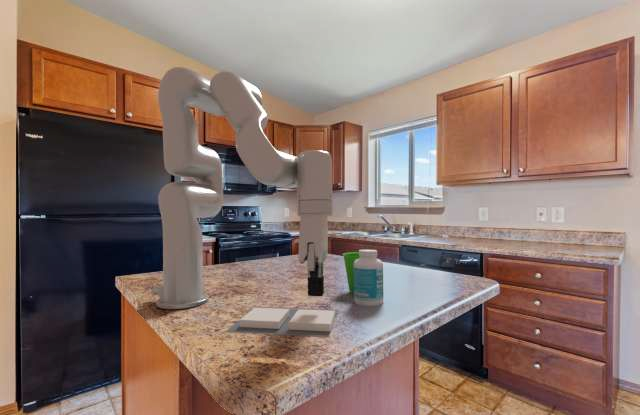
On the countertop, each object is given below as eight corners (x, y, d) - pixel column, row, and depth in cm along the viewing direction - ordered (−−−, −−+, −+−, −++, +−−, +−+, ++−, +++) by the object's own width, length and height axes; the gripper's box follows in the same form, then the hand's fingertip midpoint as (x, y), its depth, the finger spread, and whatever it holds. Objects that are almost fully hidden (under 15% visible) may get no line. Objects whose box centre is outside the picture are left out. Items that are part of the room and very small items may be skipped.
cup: (379, 290, 92) (378, 253, 92) (366, 298, 84) (365, 257, 84) (351, 287, 96) (351, 251, 97) (337, 293, 89) (336, 255, 89)
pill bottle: (383, 308, 74) (382, 252, 75) (352, 307, 76) (351, 251, 76) (383, 300, 82) (382, 248, 82) (355, 299, 83) (354, 248, 83)
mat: (225, 334, 59) (225, 331, 59) (255, 309, 75) (255, 306, 75) (328, 340, 56) (328, 337, 56) (338, 312, 72) (337, 309, 72)
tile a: (254, 314, 69) (239, 327, 61) (254, 307, 69) (239, 319, 61) (289, 316, 68) (279, 329, 60) (289, 308, 68) (279, 321, 60)
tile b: (298, 316, 68) (289, 330, 60) (298, 309, 68) (289, 322, 60) (335, 318, 66) (330, 332, 58) (335, 310, 66) (330, 324, 58)
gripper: (305, 209, 75) (305, 286, 74) (288, 209, 60) (289, 304, 60) (336, 209, 73) (337, 287, 73) (327, 208, 59) (328, 306, 58)
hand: (315, 295), depth 66 cm, fingers closed
